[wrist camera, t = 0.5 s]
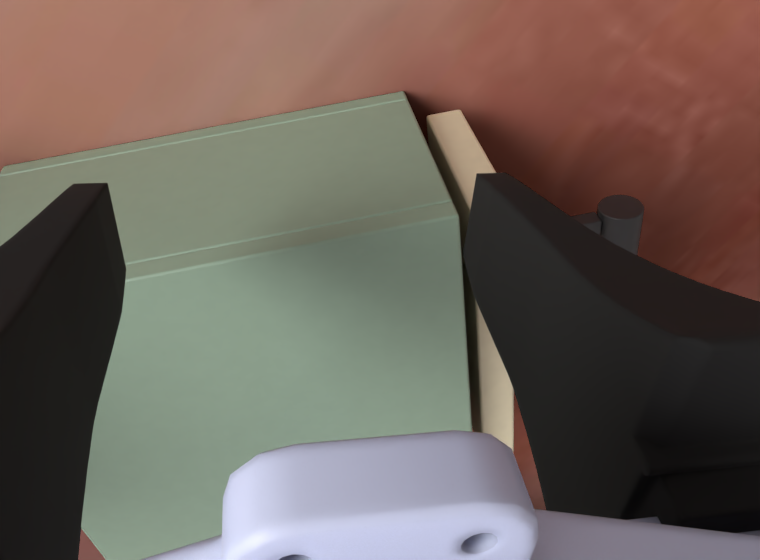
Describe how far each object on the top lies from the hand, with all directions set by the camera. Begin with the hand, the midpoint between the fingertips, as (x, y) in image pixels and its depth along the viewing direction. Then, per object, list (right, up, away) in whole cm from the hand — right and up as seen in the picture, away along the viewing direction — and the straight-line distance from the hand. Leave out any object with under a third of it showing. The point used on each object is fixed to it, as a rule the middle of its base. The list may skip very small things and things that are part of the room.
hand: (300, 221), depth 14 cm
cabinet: (-3, -1, +13) cm, 13 cm away
